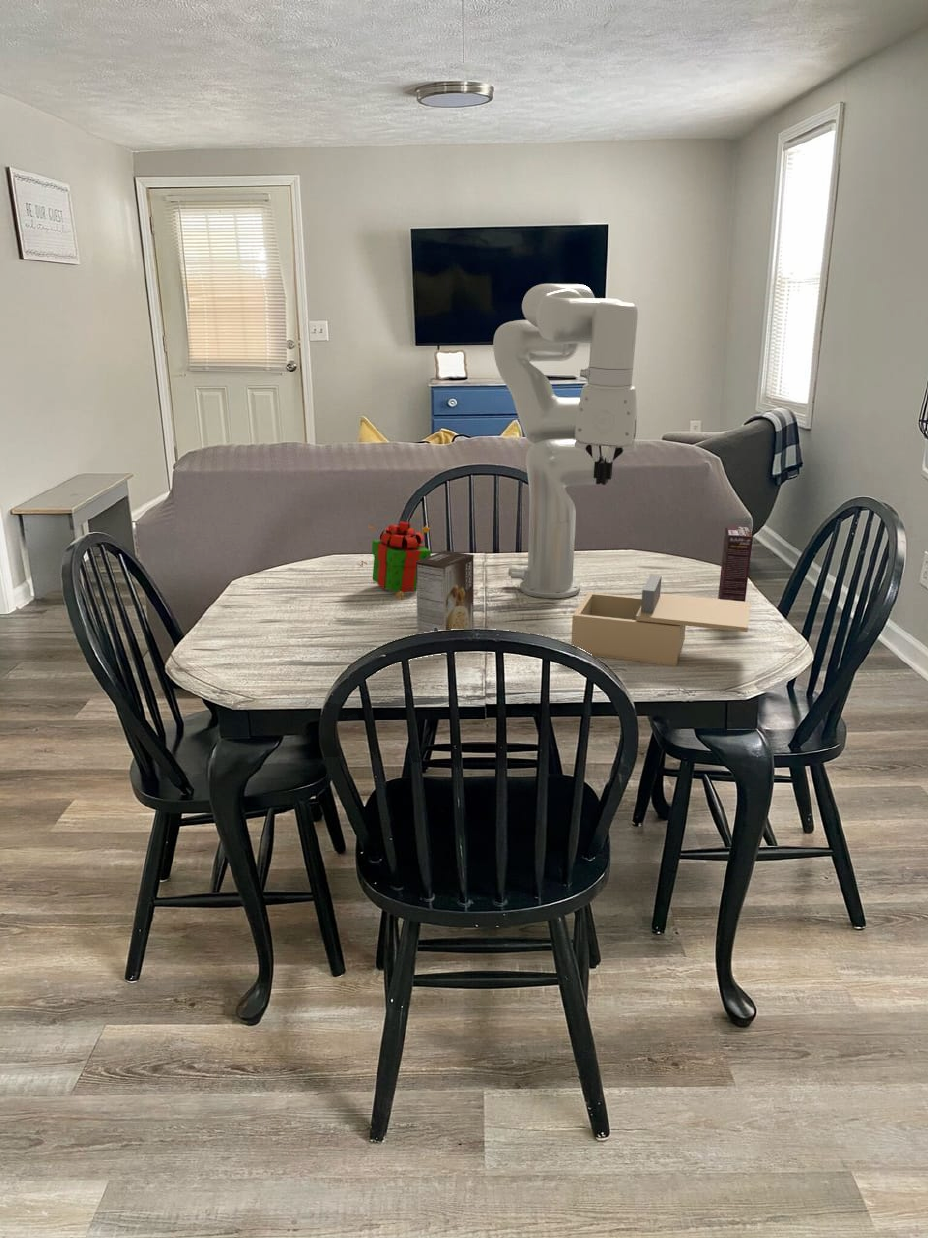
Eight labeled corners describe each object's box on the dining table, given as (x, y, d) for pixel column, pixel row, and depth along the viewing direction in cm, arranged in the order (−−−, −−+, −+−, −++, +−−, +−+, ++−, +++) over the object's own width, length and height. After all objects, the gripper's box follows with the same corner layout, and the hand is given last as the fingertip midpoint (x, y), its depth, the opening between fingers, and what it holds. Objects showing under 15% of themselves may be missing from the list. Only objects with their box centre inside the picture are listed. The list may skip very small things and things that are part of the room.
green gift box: (453, 598, 197) (462, 532, 192) (376, 604, 186) (383, 534, 182) (405, 571, 212) (412, 509, 207) (331, 574, 201) (337, 510, 197)
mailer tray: (570, 653, 161) (572, 615, 159) (586, 627, 174) (588, 592, 171) (676, 666, 156) (679, 626, 153) (684, 638, 168) (687, 602, 166)
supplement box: (744, 616, 181) (753, 536, 175) (719, 614, 182) (727, 535, 176) (741, 602, 189) (749, 526, 183) (717, 601, 190) (724, 525, 184)
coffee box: (444, 634, 170) (444, 549, 165) (474, 640, 167) (475, 554, 162) (416, 649, 163) (414, 560, 157) (446, 656, 160) (446, 566, 154)
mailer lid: (635, 620, 155) (637, 593, 154) (647, 596, 168) (648, 571, 166) (747, 632, 150) (750, 604, 149) (750, 606, 163) (753, 580, 161)
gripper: (562, 377, 158) (556, 483, 165) (650, 383, 154) (640, 491, 161) (572, 372, 165) (566, 474, 172) (657, 378, 160) (647, 482, 167)
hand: (602, 482), depth 166 cm, fingers closed
